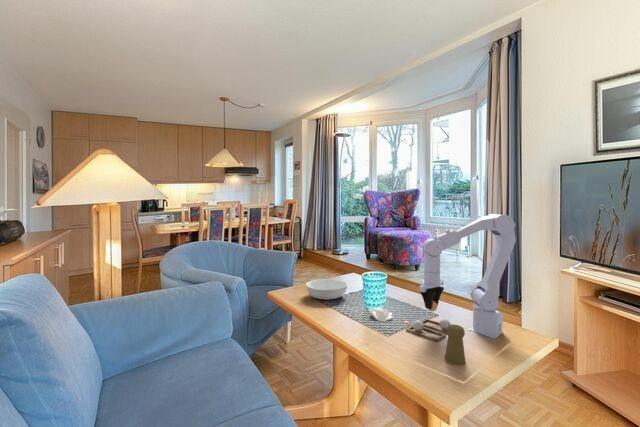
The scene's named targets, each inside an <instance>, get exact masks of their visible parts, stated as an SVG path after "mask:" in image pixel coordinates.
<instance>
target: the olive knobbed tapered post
mask: <svg viewBox="0 0 640 427" xmlns="http://www.w3.org/2000/svg"><path fill="white" fill-rule="evenodd" d="M446 333H447V334H446V336H447V340H446V346H445V347H446V348H445V353H444V361H445V362H447V363H448V364H451V365H454V366H462V365H465V364H466V357H465V347H464V339H463V338H464V337H465V329H464V327H462V326H461V325H460V324H451V325H448V327H447V329H446Z"/></svg>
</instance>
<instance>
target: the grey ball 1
mask: <svg viewBox="0 0 640 427" xmlns="http://www.w3.org/2000/svg"><path fill="white" fill-rule="evenodd" d="M421 321H422V320H419V319H417V320H415V321H413V323H412V324H413V325H412V326H413V328H414V330H416V331H418V332H420V331H422V330H423V329H424V324H423V322H421Z"/></svg>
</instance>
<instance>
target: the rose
mask: <svg viewBox="0 0 640 427" xmlns="http://www.w3.org/2000/svg"><path fill="white" fill-rule="evenodd" d="M369 314H370V315H371V316H372V318H374V319H375V320H376V321H378V322H388V321H391V320H393V318H394V316H393V313H392V312H390V311H389V310H388V309H385V308H382V307H377V308H376V309H375V311H370V312H369Z"/></svg>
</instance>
